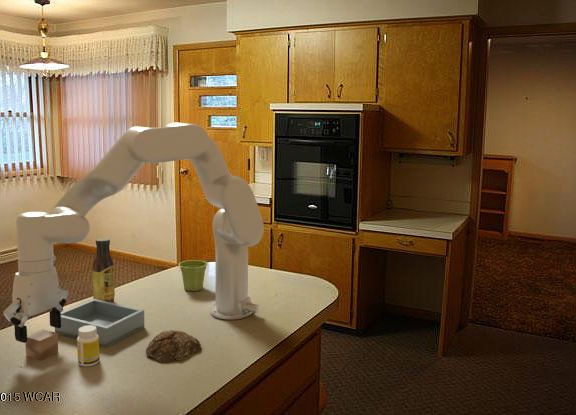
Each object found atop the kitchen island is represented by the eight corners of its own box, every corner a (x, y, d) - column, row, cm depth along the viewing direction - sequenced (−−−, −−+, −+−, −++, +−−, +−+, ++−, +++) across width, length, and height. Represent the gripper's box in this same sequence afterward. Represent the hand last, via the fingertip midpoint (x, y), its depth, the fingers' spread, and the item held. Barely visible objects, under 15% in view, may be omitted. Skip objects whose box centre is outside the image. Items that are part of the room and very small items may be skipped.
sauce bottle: (108, 307, 159) (105, 243, 155) (89, 305, 160) (86, 241, 156) (119, 300, 165) (117, 238, 161) (100, 298, 166) (98, 236, 163)
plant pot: (174, 287, 178) (174, 262, 177) (199, 282, 184) (199, 258, 182) (186, 295, 171) (186, 269, 169) (212, 290, 176) (212, 264, 175)
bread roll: (167, 337, 140) (167, 319, 139) (207, 347, 135) (207, 328, 134) (134, 356, 128) (134, 337, 128) (176, 368, 123) (175, 348, 122)
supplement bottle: (104, 359, 126) (102, 326, 124) (90, 368, 122) (89, 334, 120) (87, 356, 127) (85, 323, 126) (73, 364, 123) (71, 330, 122)
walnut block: (58, 352, 129) (57, 333, 128) (41, 360, 125) (39, 340, 124) (43, 348, 131) (42, 329, 130) (26, 356, 127) (24, 336, 126)
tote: (144, 327, 145) (144, 310, 144) (107, 347, 132) (106, 328, 132) (94, 315, 152) (94, 298, 151) (55, 333, 140) (54, 315, 139)
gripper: (54, 254, 133) (57, 319, 136) (-9, 271, 118) (-5, 343, 121) (76, 259, 130) (78, 325, 133) (14, 276, 115) (18, 351, 118)
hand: (39, 333), depth 127 cm, fingers open, 9 cm apart
